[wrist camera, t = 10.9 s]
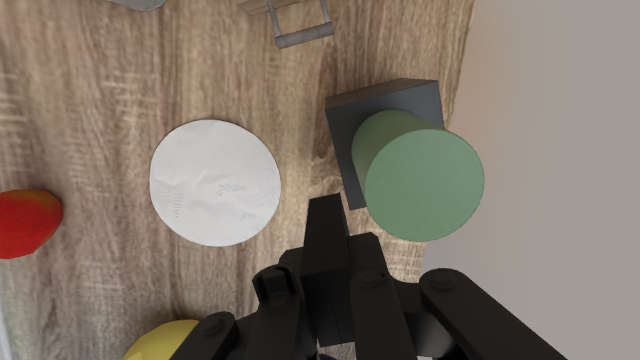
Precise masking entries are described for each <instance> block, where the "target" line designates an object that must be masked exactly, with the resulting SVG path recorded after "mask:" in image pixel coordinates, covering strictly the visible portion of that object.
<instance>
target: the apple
mask: <svg viewBox="0 0 640 360" xmlns="http://www.w3.org/2000/svg"><path fill="white" fill-rule="evenodd" d="M62 218H63V208H62V206H61V204H60V202H59V201H58V200H57V199H56V198H55V197H54V196H53V195H51V194H50V193H47V192H45V191H43V190H11V191H7V192H3V193H0V259H11V258H16V257H21V256H24V255H28V254H31V253H33V252H34V251H36V250H37V249H38V248H39V247H40V246H41V245H43V244H44V243H45V242H46V241H47V240H48V239H49V238H50V237H51V236H53V234H54V233H55V231H56V229H57V228H58V226H59V225H60V223H61V221H62Z"/></svg>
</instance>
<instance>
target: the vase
mask: <svg viewBox="0 0 640 360" xmlns="http://www.w3.org/2000/svg"><path fill="white" fill-rule="evenodd" d="M199 322H200V321H197V320H177V321H172V322H168V323H164V324H162V325H160V326H159V327H157V328H155V329H153V330H152V331H150V332H148V333H147V334H145V335H143V336H142V337H140V338H139V339H138V340H137V341H136V342H135V343H134V344H133V345H132V347H131V348H130V349H129V351H128V352H127V353H126V355H125V356H124V357H123V360H169V358H170V357H171V356H172V355H173V353H174V352H175V351H176V350H177V348H178V347H179V346H180V345H181V343H182V342H183V341H184V339H185V338H186V337H187V336H188V334H189V333H190V332H191V331H192V329H193V328H194V327H195V326H196V325H197V324H198V323H199Z"/></svg>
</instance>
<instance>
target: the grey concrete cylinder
mask: <svg viewBox="0 0 640 360" xmlns="http://www.w3.org/2000/svg"><path fill="white" fill-rule="evenodd" d="M108 1H111V2H114V3H117V4H120V5H123V6H126V7H128V8H131V9H133V10H138V11H150V10H153V9H156V8H158V7H159V6H161V5H163V4H164V2H165V1H166V0H108Z"/></svg>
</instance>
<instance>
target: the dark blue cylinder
mask: <svg viewBox="0 0 640 360" xmlns="http://www.w3.org/2000/svg"><path fill="white" fill-rule="evenodd" d="M319 358H320V360H336V359H335V358H333V357H331V356H329V355H325V354H319Z"/></svg>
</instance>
